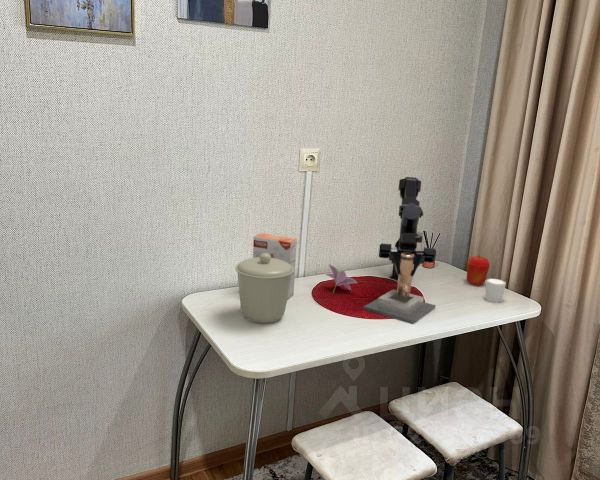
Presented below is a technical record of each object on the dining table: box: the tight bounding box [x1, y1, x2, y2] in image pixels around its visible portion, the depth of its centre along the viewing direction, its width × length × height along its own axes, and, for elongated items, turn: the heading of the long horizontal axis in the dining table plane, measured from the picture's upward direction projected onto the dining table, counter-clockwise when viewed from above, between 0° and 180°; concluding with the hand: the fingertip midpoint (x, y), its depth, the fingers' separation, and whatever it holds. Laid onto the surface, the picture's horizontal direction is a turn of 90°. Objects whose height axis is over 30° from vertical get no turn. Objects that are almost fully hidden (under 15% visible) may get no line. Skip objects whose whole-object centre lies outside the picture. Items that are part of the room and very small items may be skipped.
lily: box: [325, 264, 358, 294], centre depth 207 cm, size 12×12×10 cm
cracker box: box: [252, 232, 298, 301], centre depth 199 cm, size 14×6×21 cm, turn 68°
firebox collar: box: [363, 288, 436, 325], centre depth 195 cm, size 18×18×4 cm
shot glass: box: [484, 278, 507, 303], centre depth 208 cm, size 7×7×7 cm
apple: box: [466, 254, 490, 286], centre depth 224 cm, size 9×8×12 cm
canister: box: [234, 253, 294, 324], centre depth 179 cm, size 18×18×21 cm
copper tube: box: [396, 252, 414, 296], centre depth 192 cm, size 4×4×14 cm
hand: (405, 275), depth 190 cm, fingers closed on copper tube, 4 cm apart
